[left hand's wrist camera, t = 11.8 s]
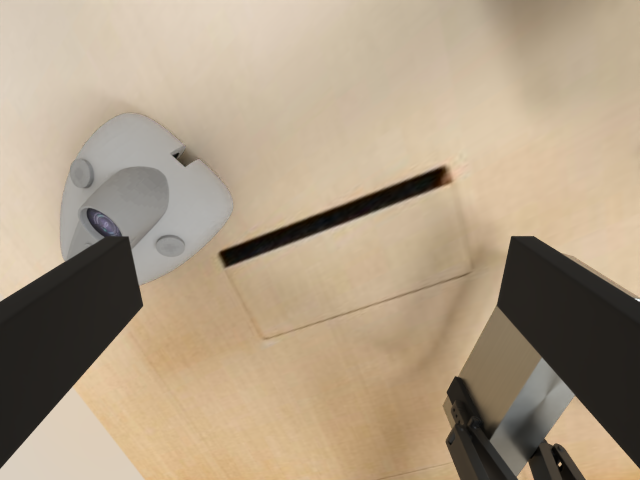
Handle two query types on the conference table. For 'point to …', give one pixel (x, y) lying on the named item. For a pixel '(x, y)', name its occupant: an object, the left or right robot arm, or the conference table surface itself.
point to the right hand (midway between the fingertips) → (475, 390)
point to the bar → (514, 388)
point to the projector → (141, 196)
